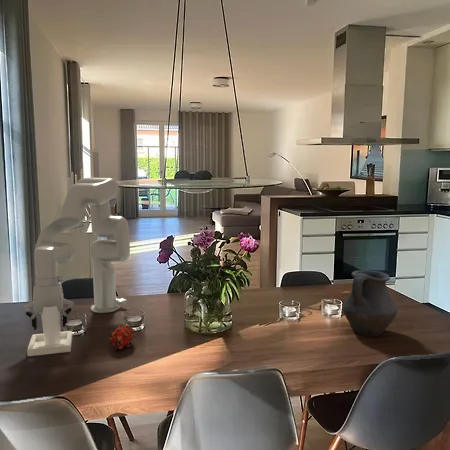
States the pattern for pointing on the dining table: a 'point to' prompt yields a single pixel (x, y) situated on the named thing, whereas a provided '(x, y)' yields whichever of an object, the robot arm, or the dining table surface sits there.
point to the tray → (40, 348)
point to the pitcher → (369, 303)
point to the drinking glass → (51, 325)
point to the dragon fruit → (122, 336)
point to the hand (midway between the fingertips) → (50, 327)
